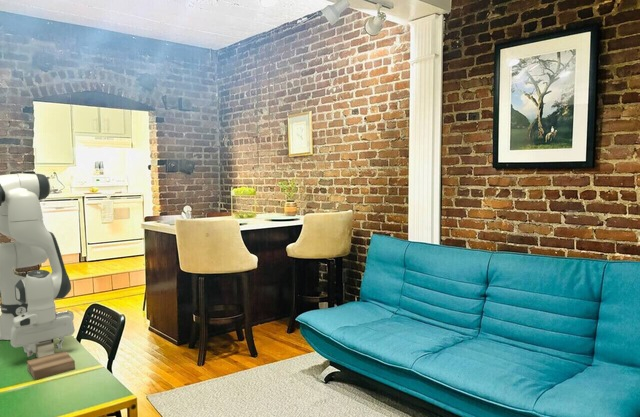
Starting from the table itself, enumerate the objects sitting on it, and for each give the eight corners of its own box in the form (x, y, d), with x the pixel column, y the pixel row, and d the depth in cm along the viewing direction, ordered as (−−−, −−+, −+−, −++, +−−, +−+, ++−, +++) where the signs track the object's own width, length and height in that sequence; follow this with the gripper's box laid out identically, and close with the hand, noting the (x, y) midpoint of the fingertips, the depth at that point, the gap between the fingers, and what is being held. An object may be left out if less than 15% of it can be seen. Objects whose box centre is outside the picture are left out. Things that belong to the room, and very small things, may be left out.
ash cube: (36, 357, 175) (35, 343, 175) (51, 353, 179) (50, 340, 178) (39, 361, 172) (37, 347, 171) (54, 357, 175) (53, 343, 174)
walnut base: (27, 369, 164) (26, 360, 164) (66, 359, 172) (65, 351, 172) (34, 379, 155) (34, 371, 155) (75, 369, 163) (74, 360, 163)
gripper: (70, 307, 183) (73, 342, 184) (7, 319, 170) (11, 357, 171) (75, 310, 178) (78, 347, 179) (10, 323, 165) (14, 362, 166)
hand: (44, 352), depth 175 cm, fingers open, 8 cm apart
